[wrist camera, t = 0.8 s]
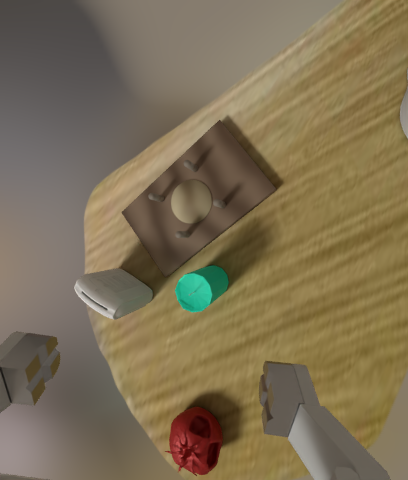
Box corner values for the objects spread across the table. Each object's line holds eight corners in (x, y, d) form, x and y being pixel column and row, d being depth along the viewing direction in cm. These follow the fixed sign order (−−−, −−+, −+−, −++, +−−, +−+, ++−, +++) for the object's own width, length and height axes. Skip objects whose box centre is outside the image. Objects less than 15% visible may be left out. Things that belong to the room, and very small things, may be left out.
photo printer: (110, 282, 58) (64, 294, 47) (118, 264, 58) (73, 273, 46) (148, 308, 56) (108, 328, 44) (156, 290, 55) (119, 306, 43)
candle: (219, 259, 50) (197, 267, 39) (234, 289, 50) (216, 306, 38) (192, 273, 52) (164, 284, 41) (206, 302, 51) (181, 321, 40)
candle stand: (221, 122, 50) (213, 110, 44) (276, 190, 47) (274, 184, 42) (125, 212, 57) (108, 210, 51) (168, 276, 54) (154, 280, 49)
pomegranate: (191, 455, 54) (170, 500, 45) (170, 406, 55) (146, 441, 46) (236, 446, 50) (222, 492, 42) (213, 394, 51) (194, 429, 43)
